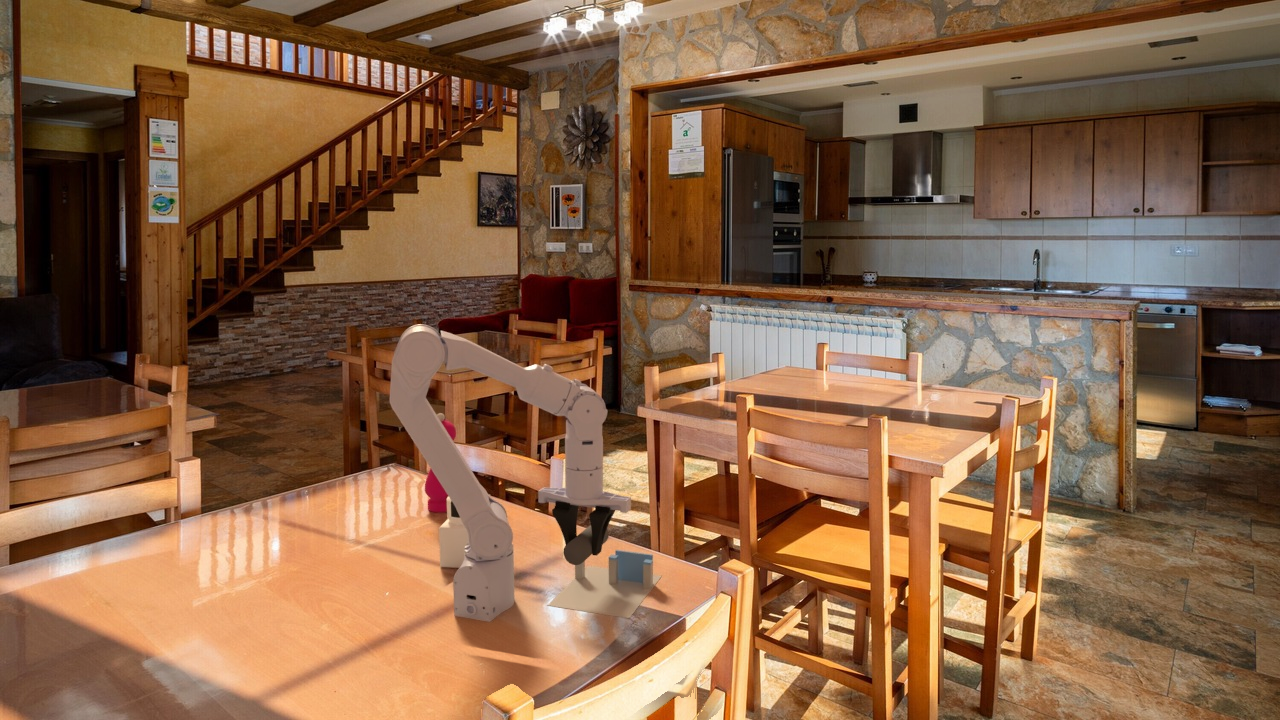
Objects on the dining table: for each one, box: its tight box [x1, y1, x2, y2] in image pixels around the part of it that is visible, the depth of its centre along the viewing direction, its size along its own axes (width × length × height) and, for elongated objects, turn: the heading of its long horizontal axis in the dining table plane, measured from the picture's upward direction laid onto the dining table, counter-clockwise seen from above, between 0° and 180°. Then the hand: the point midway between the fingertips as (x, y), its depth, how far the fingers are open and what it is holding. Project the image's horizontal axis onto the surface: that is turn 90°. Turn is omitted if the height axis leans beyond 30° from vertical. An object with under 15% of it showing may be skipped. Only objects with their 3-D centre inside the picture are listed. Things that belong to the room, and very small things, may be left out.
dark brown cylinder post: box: [562, 524, 610, 566], centre depth 128 cm, size 10×4×4 cm, turn 161°
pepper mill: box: [424, 412, 457, 514], centre depth 169 cm, size 7×7×20 cm
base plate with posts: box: [546, 549, 663, 619], centre depth 128 cm, size 16×13×6 cm
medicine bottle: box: [438, 496, 469, 569], centre depth 142 cm, size 7×7×12 cm
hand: (584, 551), depth 127 cm, fingers closed on dark brown cylinder post, 4 cm apart
